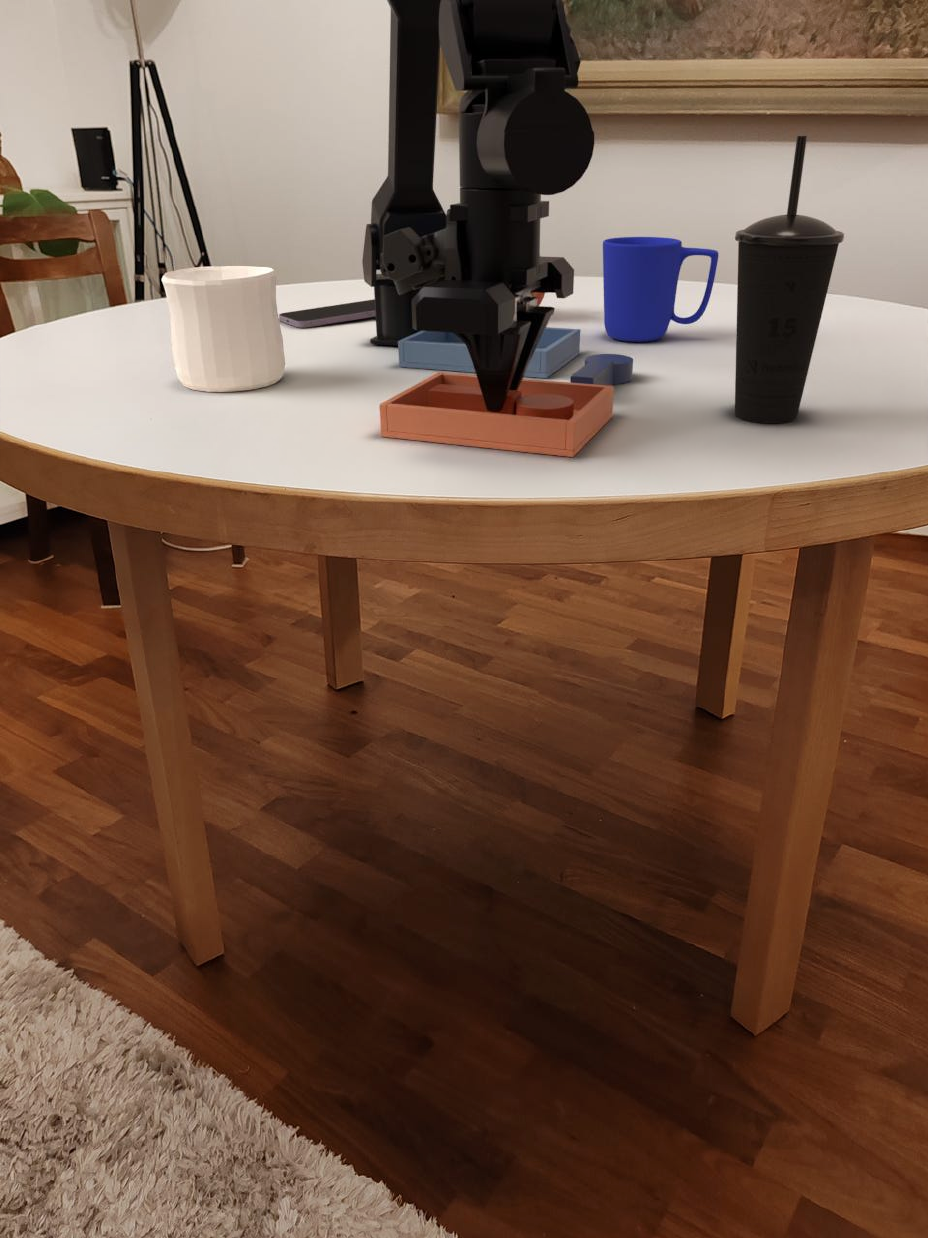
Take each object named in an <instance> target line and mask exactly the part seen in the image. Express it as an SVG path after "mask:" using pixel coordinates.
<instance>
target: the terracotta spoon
mask: <svg viewBox="0 0 928 1238" xmlns="http://www.w3.org/2000/svg"><path fill="white" fill-rule="evenodd" d="M429 399H430V407H435V408H445V409H456V410H467V411H477V412H488V413H499V414H509V415H520V416H531V417H541V418H552V419H563V420H568V421H569V420H570V419H571V418H572V417H573V414H574V401H573V400H572V399H571V398H568V397H565V396H560V395H552V394H537V395H529V396H524V397H521V391H516V390H509V391H508V394H507V397H506V400H505V403H504V405H503V408H502V410H501V411H500V412H490V411H488V410H487V409H486V405H485V402H484V399H483V395H482V392H481V389H480V387H468V386H456V385H444V384H439V385H437V386H435V387H433V388H432V389H430V390H429Z"/></svg>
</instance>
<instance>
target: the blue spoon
mask: <svg viewBox="0 0 928 1238" xmlns="http://www.w3.org/2000/svg"><path fill="white" fill-rule="evenodd" d="M633 369H634V358H633V357H631V356H629V355H624V354H617V353H599V354H598V353H597V354H591V355H588V356H586V357H585V358H584V365H582V367H580V368H579V369H578V370H577V371H575V372H574V373H573V374H571V375H570V380H569V383H582V384H594V385H606V386H613V385H619V384H620V385H621V384H626V383H628V382H629V383H630V382H631V381H632V380H633Z"/></svg>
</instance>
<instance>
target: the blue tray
mask: <svg viewBox="0 0 928 1238" xmlns="http://www.w3.org/2000/svg"><path fill="white" fill-rule="evenodd" d="M397 347H398V350H397V351H398V366H399V368H408V369H409V368H410V369H423V370H435V371H436V370H437V371H449V372H460V373H461V372H462V373H471V374H472V373H473V374H474V373H475V374H476V372H475V369H474V366H473V362H472V360H471V357H470V354H469V351H468V349H467V346H466V345H465V343H464V342H463V341H462V340H460V339H459V338H458V337H457V336H456V335H455V334H454V333H450V332H435V331H420V332H418V333H415V334H413V335H411V336H408V337H406V338H404V339H402V340H399V341H398V346H397ZM580 348H581V329H580V328H564V327H549V326H548V327H547V326H546V328H545V330H544V332H543V334H542V336H541V339H540V341H539V343H538V345H537V347H536V349H535V352H534V354H533V356H532V358H531V360H530V363H529V365H528V367H527V370H526V372H525V374H524V376H523V378H524V377H525V378H537V379H547V378H549V377H551V375H553V374H554V373H556V372H557V371H558V370H560V369H561V368H562V367H564V366H565V365H567V364H568V363H569V362H570V361H572V360H574V359H575V358H576V357H578V356H579V355H580V353H581V352H580Z"/></svg>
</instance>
